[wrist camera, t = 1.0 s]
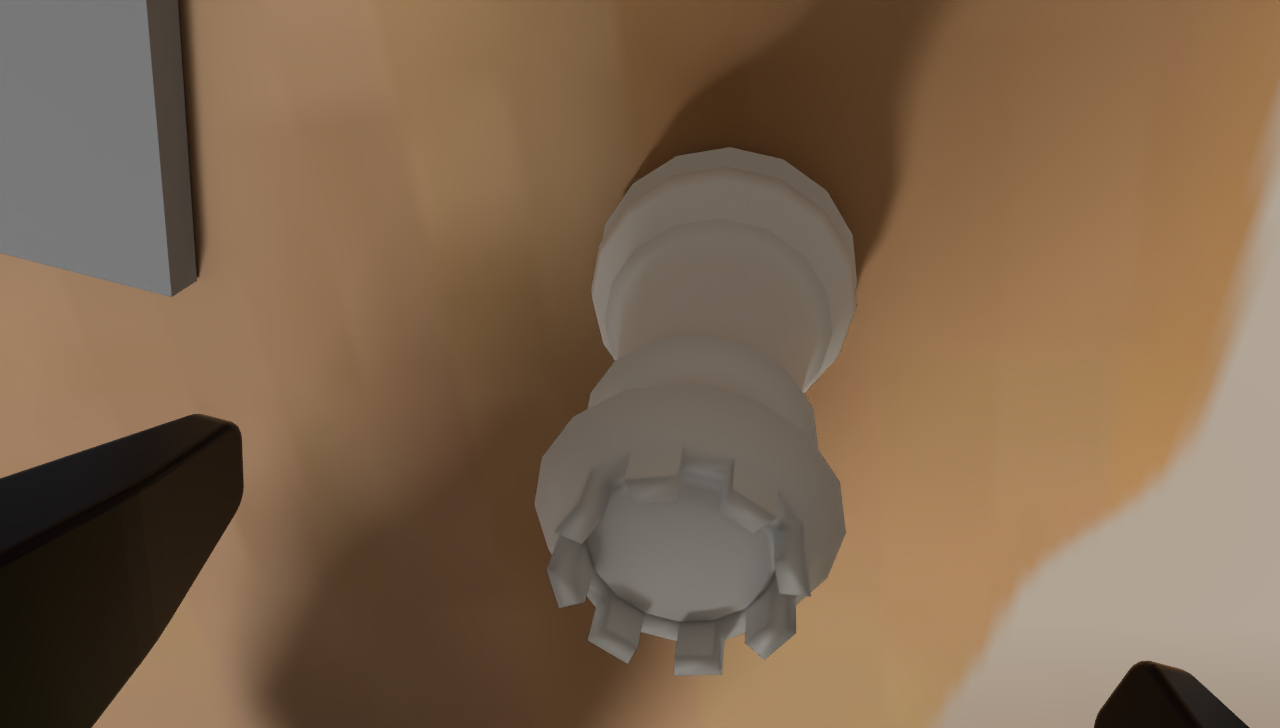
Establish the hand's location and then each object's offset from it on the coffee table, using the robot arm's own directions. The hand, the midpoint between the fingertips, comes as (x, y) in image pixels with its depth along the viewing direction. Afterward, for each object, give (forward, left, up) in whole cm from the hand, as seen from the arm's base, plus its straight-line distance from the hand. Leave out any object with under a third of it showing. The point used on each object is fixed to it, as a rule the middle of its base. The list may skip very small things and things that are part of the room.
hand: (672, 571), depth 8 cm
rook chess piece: (0, 0, -8) cm, 8 cm away
